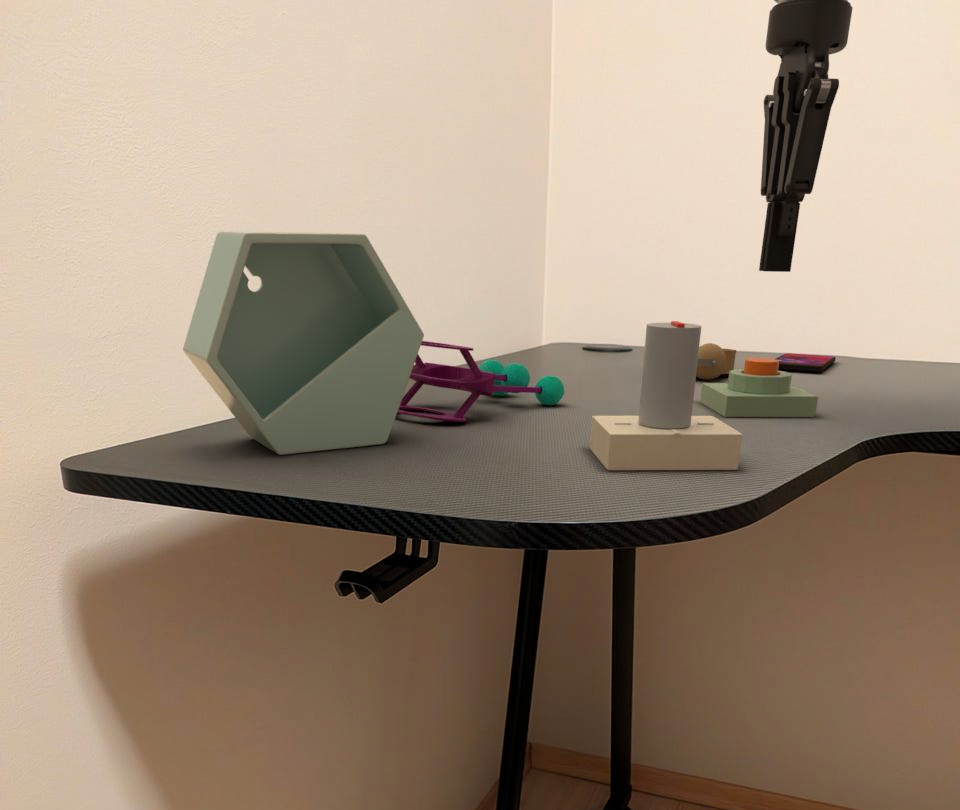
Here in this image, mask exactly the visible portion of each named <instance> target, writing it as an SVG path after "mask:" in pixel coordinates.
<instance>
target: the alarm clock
mask: <svg viewBox="0 0 960 810" xmlns="http://www.w3.org/2000/svg"><path fill="white" fill-rule="evenodd" d="M737 351H738V350H737V349H733V348H722V347H721V346H720V345H718V344H716V343H712V342H710V343H704V344H702V345H699V353H698V363H697V372H696V378H698V379H699V380H703V381H711V380H712V381H713V380H714V379H716V378H718V377H720V376H721V375H729V372H730V371H731V370H734V369H735V363H736V362H735V361H736V354H737Z"/></svg>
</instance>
